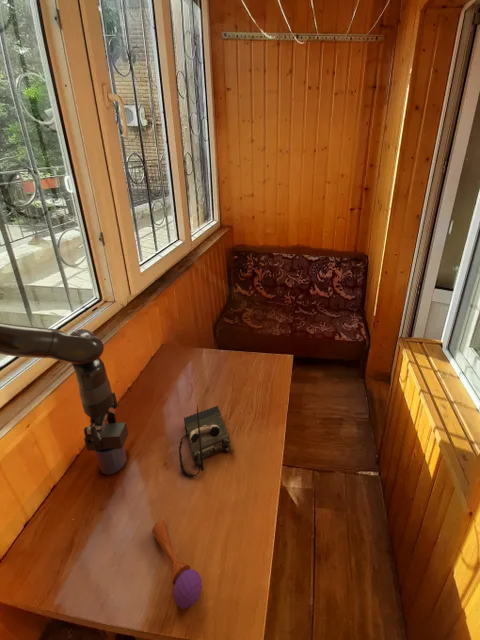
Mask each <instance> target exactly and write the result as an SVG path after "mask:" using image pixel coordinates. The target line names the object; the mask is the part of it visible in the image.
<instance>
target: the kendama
mask: <svg viewBox="0 0 480 640" xmlns="http://www.w3.org/2000/svg"><path fill="white" fill-rule="evenodd" d="M151 533H152V535H153V536H154V538H155V540H156V541H157V543H158V544H159V545H160V547H161V548H162V550H163V552H164V553H165V554H166V556H167V558H168V559H169V560H170V562H171V564H172V585H173V586H174V587H173V599H174V602H175V604H176V606H178V607H179V608H180V609H183V610H184V609H185V610H186V609H189V608H191V607H193V606H194V605H195V604H196V603H197V602H198V600H199V598H200V597H201V592H202V588H203V584H202V583H203V582H202V577H201V575H200V573H199V572H198V571H196V570H195V569H193V568H191V566H190V565H189V564H187V563H185V562H183V561H181V560H179V559H178V557H177V555H176V552H175V549H174V546H173V543H172V540H171V537H170V534H169V531H168V528H167V525H166V522H165V520H159V521H157V522H156V523H155V524H154V526H153V527H152V529H151Z"/></svg>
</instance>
